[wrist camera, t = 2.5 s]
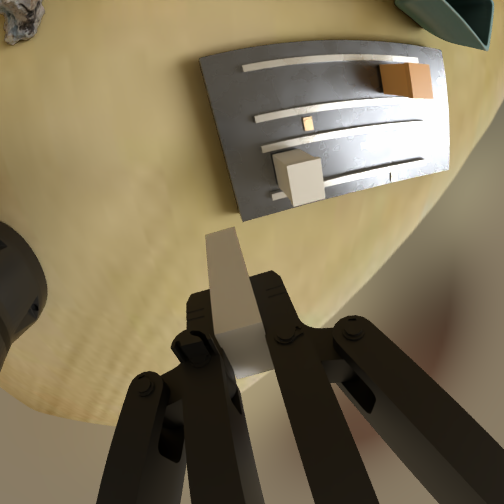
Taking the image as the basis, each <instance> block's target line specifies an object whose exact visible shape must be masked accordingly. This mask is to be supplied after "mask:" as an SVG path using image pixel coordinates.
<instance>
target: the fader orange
mask: <svg viewBox="0 0 504 504" xmlns="http://www.w3.org/2000/svg"><path fill="white" fill-rule="evenodd" d="M379 66H380V72H381V78H382V85H383V92H384V94H388V95H397V96H405V97H409V98H411V99H433V91H432V82H431V74H430V67H429V65H428V64H419V63H409V62H407V63H404V64H381V65H379Z"/></svg>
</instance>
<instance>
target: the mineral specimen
mask: <svg viewBox="0 0 504 504" xmlns="http://www.w3.org/2000/svg"><path fill="white" fill-rule="evenodd" d="M41 2H42V0H0V13H1V14H3V15H4V17H5V20H6V21H5V23H4V27H3V28H4V31H6V34H5V39H4V40H5V42H7V43H8V44H10V45H14V44H15V43H17V42H18V41H19V40H20V39H21V40H28V39H30V38H31V37H33V36H34V35H35V34H36V33H37V28H38V26H39V24H40V22H41V19H42V16H43V15H44V14H45V10H44V7H43V5H42V3H41Z"/></svg>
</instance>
